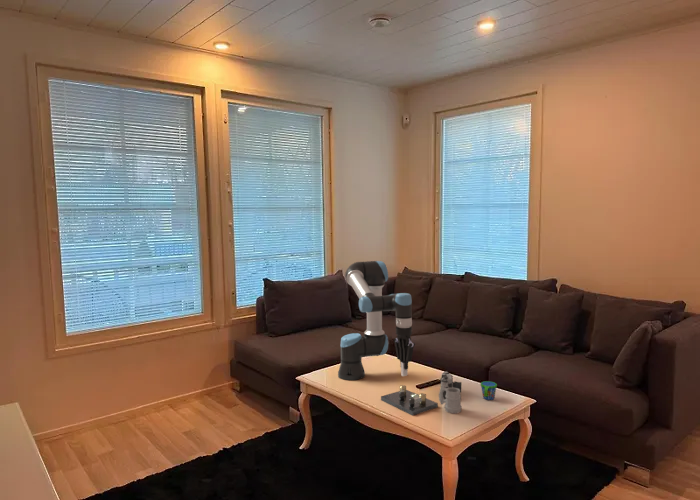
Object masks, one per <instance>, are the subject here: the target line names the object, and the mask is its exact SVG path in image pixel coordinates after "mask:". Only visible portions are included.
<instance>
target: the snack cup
mask: <svg viewBox="0 0 700 500" xmlns="http://www.w3.org/2000/svg"><path fill="white" fill-rule="evenodd" d="M480 387H481V393H482V398H483V399H484V400H487V401H489V400H490V401H492V400H495V397H496V391H497V387H498V384H497V383H496V382H494V381H490V380H489V381H487V380H486V381H485V380H484V381H482V382H480Z"/></svg>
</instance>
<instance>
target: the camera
mask: <svg viewBox="0 0 700 500" xmlns="http://www.w3.org/2000/svg"><path fill="white" fill-rule="evenodd" d="M453 379H454V378H453V375H452V374H451V373H449V372H448V371H444V372H442V373H441V378H440V379H439V381H440V386H441V385H442V382H444V384H445V388H458V389H460V394H461V393H462V381H454V380H453ZM445 395H446V391H444V392H443V398H444V399H446V397H445Z"/></svg>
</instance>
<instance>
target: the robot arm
mask: <svg viewBox="0 0 700 500" xmlns="http://www.w3.org/2000/svg"><path fill="white" fill-rule="evenodd" d="M344 277H345V281H346V282H347V284H348V285H349V286H351V288H352V289H353V290H354V292H355V294H356V295H357V297H358V299H359V300H358V308H359V311H360V313H366V330H365V331H364V332H363V333H364V334H363V335H361V334H360V333H358V332H357V333H348V334H345V335H343V336H342V337H341V338H340V365H339V369H338V371H337V376H338V378H339V379H341V380H345V381H356V380H362V379H364V378H365V376H366V371H365V369H364V366H363V363H362V358H365V357H378V356H383V355H385V354H386V353H387V351H388V349H389V337H388V335H387V334H385V330H383V312H392V311H394V312H395V326H396V327H395V334H396V338H393V343H394V347H395V352H396V358H397V360H399V362H400V372H401V373H400V374H401V377H406V376H408V374H409V372H408V370H409V363H410V362H412V360H413V359H412V358H413V354H414V347H415V345H416V344H415V342H412V338H411V336H412V335H413V327H412V325H413V320H412V319H413V315H412V313H413V312H412V310H413V309H412V308H413V307H412V305H413V303H412V302H413V301H412V295H411V294H410V293H407V292H400V293H391V294H387V295H383V294H382V293H383V288H384V286H385V282H387V281H388V280H389V271H388V267H387V264H385V261H381V260H369V261H368V260H367V261H356V262H354V263H352V264H350V265H349V266H348V267H347V269H346V271H345V275H344Z"/></svg>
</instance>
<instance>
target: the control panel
mask: <svg viewBox="0 0 700 500" xmlns="http://www.w3.org/2000/svg"><path fill="white" fill-rule="evenodd" d="M399 392H400V390H398V391H395V392H392V393H389V394H385V395H381V396H380V401H382V402H384V403H386V404H388V405H390V406H392V407H394V408H396V409H399V410H400V411H402V412H404V413H406V414H408V415H409V416H416V415H419V414H421V413H424V412H428V411H431V410H433V409H436V408H438V407H439V404H438V402H436V401H433V400H432V399H429V398H427V397H426V404H420V403H416V404H414V407H410V406H409V398H416V397H419V394H420V393H415V392H412V391H410V390H408V389H406V395H404V400H400V399H399Z"/></svg>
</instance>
